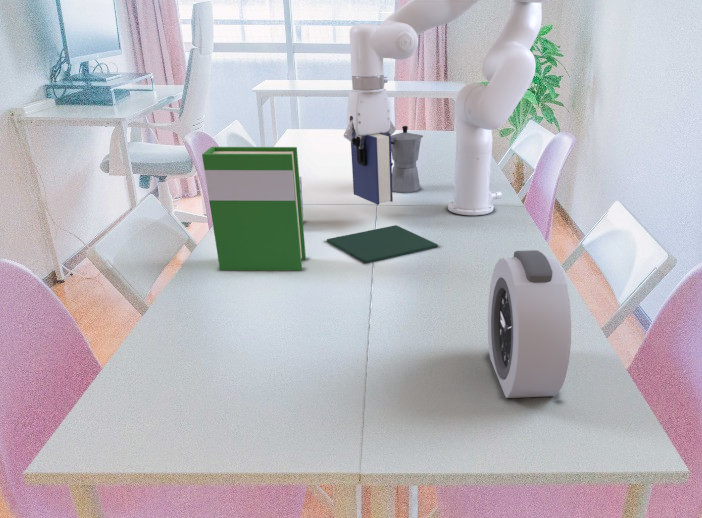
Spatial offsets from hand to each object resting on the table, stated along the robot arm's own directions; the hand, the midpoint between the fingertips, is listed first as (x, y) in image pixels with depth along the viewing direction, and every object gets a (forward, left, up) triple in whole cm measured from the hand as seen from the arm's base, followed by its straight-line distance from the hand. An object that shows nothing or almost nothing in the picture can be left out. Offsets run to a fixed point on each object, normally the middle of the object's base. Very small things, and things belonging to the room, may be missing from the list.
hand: (371, 162), depth 167 cm
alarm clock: (+24, +83, -15) cm, 88 cm away
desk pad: (+8, +18, -15) cm, 25 cm away
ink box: (+20, -7, -15) cm, 26 cm away
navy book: (0, 0, -9) cm, 9 cm away
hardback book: (+37, +15, -15) cm, 43 cm away
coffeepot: (-24, -21, -15) cm, 35 cm away
